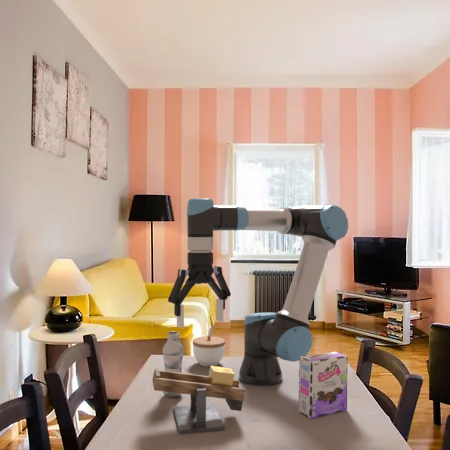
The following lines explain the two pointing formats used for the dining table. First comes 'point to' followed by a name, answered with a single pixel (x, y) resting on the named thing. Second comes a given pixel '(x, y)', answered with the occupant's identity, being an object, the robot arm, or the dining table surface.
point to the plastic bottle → (173, 357)
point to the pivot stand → (198, 415)
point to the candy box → (322, 384)
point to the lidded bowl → (208, 350)
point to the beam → (198, 387)
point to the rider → (220, 376)
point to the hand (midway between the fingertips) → (200, 324)
